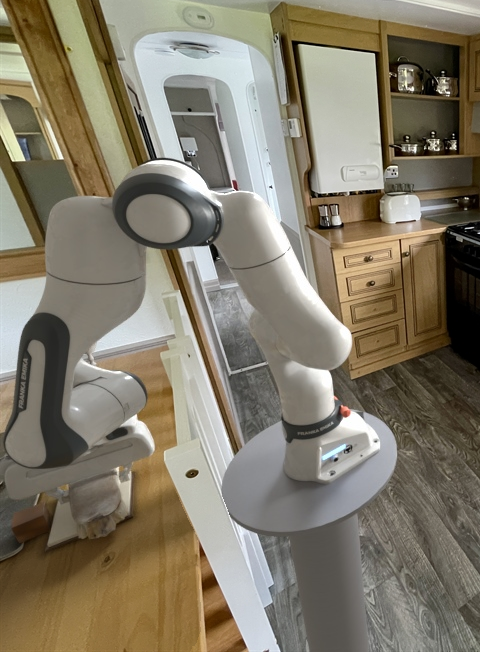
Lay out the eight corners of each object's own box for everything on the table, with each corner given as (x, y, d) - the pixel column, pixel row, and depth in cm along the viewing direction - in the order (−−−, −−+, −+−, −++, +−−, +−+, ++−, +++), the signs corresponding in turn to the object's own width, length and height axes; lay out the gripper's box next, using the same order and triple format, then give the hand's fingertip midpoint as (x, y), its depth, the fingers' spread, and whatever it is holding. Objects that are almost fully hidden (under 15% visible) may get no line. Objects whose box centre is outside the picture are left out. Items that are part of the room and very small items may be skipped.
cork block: (51, 516, 74) (44, 501, 73) (51, 530, 71) (43, 514, 70) (21, 529, 71) (13, 513, 70) (19, 543, 69) (10, 528, 67)
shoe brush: (134, 522, 71) (127, 503, 69) (79, 549, 66) (70, 529, 64) (117, 455, 86) (111, 438, 85) (71, 473, 81) (63, 455, 79)
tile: (134, 472, 85) (133, 468, 84) (133, 517, 75) (131, 512, 74) (59, 499, 78) (56, 494, 77) (45, 552, 67) (43, 547, 67)
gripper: (-16, 469, 62) (16, 529, 67) (144, 422, 74) (161, 476, 79) (-4, 447, 67) (25, 505, 72) (144, 406, 79) (160, 458, 84)
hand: (97, 489), depth 75 cm, fingers closed on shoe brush, 7 cm apart
